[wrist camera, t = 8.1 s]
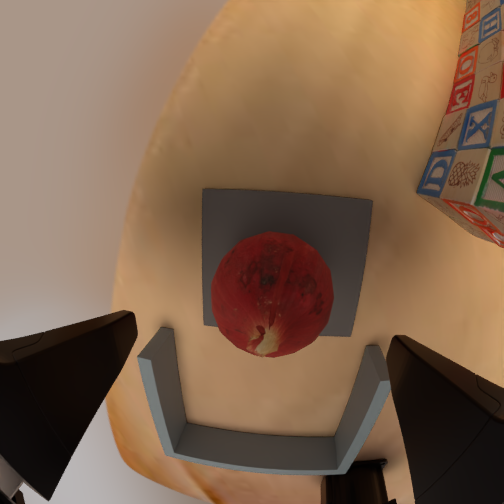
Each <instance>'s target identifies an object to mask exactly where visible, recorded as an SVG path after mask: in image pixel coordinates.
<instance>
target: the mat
mask: <svg viewBox="0 0 504 504" xmlns="http://www.w3.org/2000/svg"><path fill="white" fill-rule="evenodd" d="M372 203H373V201H372V200H366V199H357V198H348V197H338V196H328V195H316V194H304V193H290V192H275V191H257V190H233V189H203V192H202V287H203V320H204V325H207V326H214V327H218V325H217V322H216V320H215V317H214V315H213V312H212V303H211V282H212V280H213V277H214V275H215V273H216V270H217V268H218V266H219V264H220V262H221V260H222V258H223V257H224V256H225V255H226V254H227V253H228V252H229V251H230V250H231V249H232V248H233V247H234V246H235V245H236V244H237V243H238V242H239V241H240V240H243V239H246V238H249V237H252V236H255V235H258V234H262V233H265V232H268V231H271V232H278V233H286V234H294V235H295V236H297V237H298V238H300V239H301V240H303V241H304V242H306V243H307V244H309V245H310V246H312V247H313V248H314V249H316V250H317V251H318V253H319V254H320V256H321V257H322V259H323V260H324V262H325V263H326V265H327V266H328V268H329V269H330V271H331V277H332V284H333V291H334V301H333V305H332V310H331V314H330V318H329V321H328V324H327V325H326V326H325V328H324V329H323V330H322V332H321V333H320V334H319V336H342V337H351V333H352V329H353V325H354V320H355V315H356V311H357V306H358V301H359V296H360V291H361V285H362V279H363V273H364V267H365V261H366V254H367V247H368V240H369V232H370V223H371V214H372Z"/></svg>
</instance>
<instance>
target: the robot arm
mask: <svg viewBox="0 0 504 504" xmlns="http://www.w3.org/2000/svg"><path fill="white" fill-rule="evenodd" d="M137 336H138V330H137V324H136V318H135V314H134V313H133V312H131V311H126V310H122V311H118V312H115V313H111V314H108V315H104V316H101V317H97V318H93V319H90V320H86V321H82V322H79V323H75V324H72V325H68V326H64V327H60V328H56V329H52V330H49V331H46V332H41V333H37V334H33V335H29V336H25V337H20V338H15V339H10V340H4V341H0V504H25V502H24V497H23V493H22V492H21V491H20V490H19V488H20V486H21V485H22V484H23V482H24V483H25V484H26V485H27V486H29V487H30V488H31V489H33V490H34V491H35V492H36V493H38V494H39V495H40V496H42V497H43V498H45V499H46V500H47V501H49V500H50V499H51V497H52V495H53V493H54V491H55V489H56V487H57V485H58V483H59V481H60V479H61V477H62V474H63V473H64V471H65V469H66V467H67V465H68V463H69V461H70V459H71V456H72V455H73V453H74V452H75V449H76V448H77V446H78V444H79V442H80V441H81V439H82V437H83V435H84V433H85V432H86V429H87V428H88V426H89V424H90V422H91V421H92V419H93V417H94V415H95V414H96V412H97V410H98V409H99V407H100V405H101V403H102V402H103V400H104V398H105V397H106V395H107V393H108V392H109V390H110V388H111V387H112V385H113V383H114V382H115V380H116V378H117V377H118V375H119V373H120V372H121V370H122V368H123V366H124V364H125V362H126V360H127V358H128V356H129V354H130V351H131V349H132V347H133V345H134V343H135V341H136V339H137ZM386 363H387V368H388V374H389V380H390V386H391V392H392V397H393V401H394V405H395V408H396V412H397V416H398V420H399V424H400V428H401V432H402V436H403V440H404V445H405V449H406V454H407V459H408V464H409V469H410V474H411V480H412V486H413V492H414V499H415V504H504V388H502V387H500V386H498V385H496V384H494V383H492V382H490V381H488V380H486V379H484V378H483V377H481V376H479V375H477V374H476V375H475V373H473V372H471V371H470V370H468V369H466V368H464V367H462V366H461V365H459V364H457V363H455V362H453V361H451V360H450V359H448V358H446V357H444V356H442V355H440V354H439V353H437V352H435V351H433V350H431V349H430V348H428V347H426V346H424V345H422V344H420V343H419V342H417V341H415V340H413V339H411V338H409V337H408V336H406V335H395V336H393V338H392V340H391V344H390V347H389V350H388V353H387V356H386ZM386 464H387V460H386V459H382V460H374V461H365V462H355V463H352V464H351V466H350V467H349V469H348V470H347V472H346V474H335V475H326V476H325V478H324V479H323V481H322V483H321V504H397V503H396V498H395V499H392V500H391V501H388V496H387V491H386V486H385V481H384V476H383V471H382V469H383V468H384V467H385V465H386Z"/></svg>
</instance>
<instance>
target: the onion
mask: <svg viewBox="0 0 504 504" xmlns="http://www.w3.org/2000/svg"><path fill="white" fill-rule="evenodd" d="M333 301H334V291H333V284H332V277H331V271H330V269H329V268H328V266H327V265H326V263H325V262H324V260H323V259H322V257H321V256H320V254H319V253H318V251H317V250H316V249H314V248H313V247H312V246H310V245H309V244H307V243H306V242H304V241H303V240H301V239H300V238H298V237H297V236H295V235H294V234H286V233H278V232H271V231H268V232H265V233H262V234H258V235H255V236H252V237H249V238H246V239H243V240H240V241H239V242H238V243H237V244H236V245H235V246H234V247H233V248H232V249H231V250H230V251H229V252H228V253H227V254H226V255H225V256H224V257H223V258H222V260H221V262H220V264H219V266H218V268H217V270H216V273H215V275H214V277H213V280H212V282H211V303H212V312H213V315H214V317H215V320H216V322H217V325H218V328H219V330H220V332H221V333H222V334H223V335H224V336H225V337H226V338H227V339H228V340H229V341H231V342H232V343H233V344H234V345H235V346H236V347H237V348H239V349H242V350H244V351H246V352H248V353H251V354H253V355H256V356H260V357H264V356H265V357H273V358H274V357H279V356H283V355H288V354H292V353H295V352H297V351H298V350H300V349H302V348H304V347H306V346H307V345H309V344H311V343H312V342H313V341H315V340H316V338H317V337H318V336H319V334H320V333H321V332H322V330H323V329H324V328H325V326H326V325H327V324H328V321H329V318H330V314H331V310H332V305H333Z"/></svg>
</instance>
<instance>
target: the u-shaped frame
mask: <svg viewBox="0 0 504 504" xmlns="http://www.w3.org/2000/svg"><path fill="white" fill-rule="evenodd" d="M137 359H138V363H139V368H140V372H141V376H142V380H143V384H144V388H145V392H146V396H147V400H148V403H149V407H150V410H151V413H152V417H153V420H154V423H155V426H156V430H157V433H158V436H159V439H160V442H161V444H162V447H163V450H164V453H165V455H166V456H170V457H173V458H177V459H181V460H185V461H189V462H194V463H198V464H203V465H208V466H213V467H219V468H225V469H231V470H238V471H246V472H255V473H266V474H280V475H335V474H346V472H347V470H348V469H349V467H350V466H351V464H352V463H353V461H354V459H355V458H356V456H357V454H358V453H359V451H360V449H361V448H362V446H363V444H364V442H365V440H366V439H367V437H368V435H369V433H370V431H371V429H372V427H373V426H374V424H375V422H376V420H377V418H378V416H379V414H380V412H381V410H382V407H383V405H384V403H385V401H386V399H387V397H388V394H389V392H390V390H391V386H390V380H389V374H388V368H387V363H386V360H385V358H384V356H383V353H382V351H381V349H380V347H379V346H366V349H365V352H364V356H363V359H362V362H361V365H360V369H359V372H358V375H357V378H356V381H355V384H354V387H353V390H352V393H351V395H350V398H349V401H348V404H347V406H346V409H345V412H344V414H343V417H342V419H341V422H340V424H339V427H338V429H337V431H336V434H335V436H334V437H290V436H274V435H262V434H252V433H244V432H236V431H229V430H223V429H217V428H211V427H205V426H200V425H195V424H191V423H187V421H186V416H185V410H184V404H183V399H182V392H181V386H180V379H179V372H178V365H177V357H176V349H175V340H174V331H173V329H168V328H163V327H161V328H160V329H159V330H158V332H157V333H156V334H155V335H154V337H153V338H152V339H151V340H150V341H149V343H148V344H147V345H146V346H145V348H144V349H143V350H142V351H141V353H140V354H139V355H138V356H137Z"/></svg>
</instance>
